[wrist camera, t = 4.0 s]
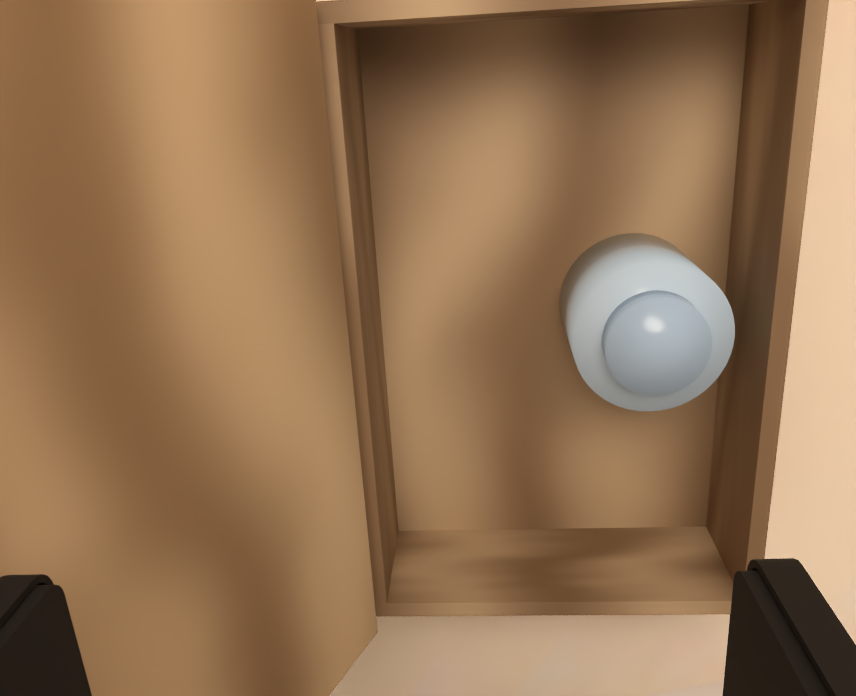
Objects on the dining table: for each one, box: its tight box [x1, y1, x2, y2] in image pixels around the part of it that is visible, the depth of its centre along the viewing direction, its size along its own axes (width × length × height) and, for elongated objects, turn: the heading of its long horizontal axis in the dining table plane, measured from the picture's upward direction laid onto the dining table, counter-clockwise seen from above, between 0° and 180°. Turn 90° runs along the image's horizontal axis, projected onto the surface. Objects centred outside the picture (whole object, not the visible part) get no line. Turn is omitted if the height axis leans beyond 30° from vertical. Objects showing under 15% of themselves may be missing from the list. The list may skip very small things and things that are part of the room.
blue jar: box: [559, 233, 735, 411], centre depth 23 cm, size 4×4×4 cm
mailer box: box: [316, 0, 829, 616], centre depth 23 cm, size 12×18×4 cm, turn 3°
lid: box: [0, 0, 377, 696], centre depth 15 cm, size 13×18×2 cm
